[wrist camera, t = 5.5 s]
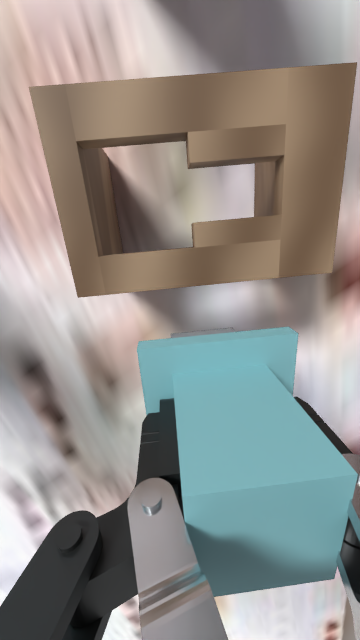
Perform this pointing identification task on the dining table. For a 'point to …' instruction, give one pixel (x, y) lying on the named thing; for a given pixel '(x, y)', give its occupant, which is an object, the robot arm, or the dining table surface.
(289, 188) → the brown keyhole frame
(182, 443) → the teal peg
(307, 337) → the dining table surface
